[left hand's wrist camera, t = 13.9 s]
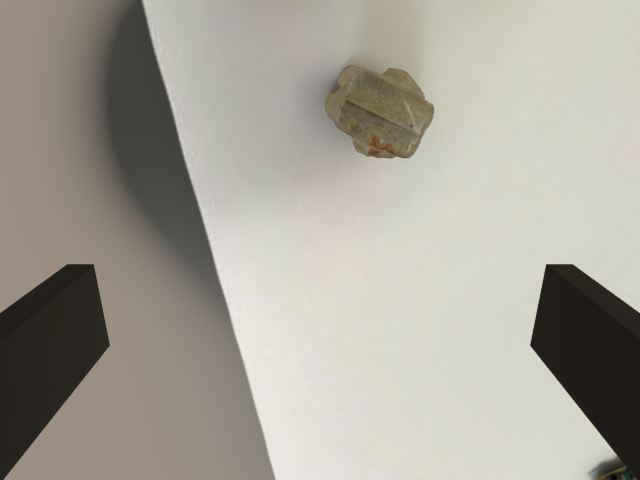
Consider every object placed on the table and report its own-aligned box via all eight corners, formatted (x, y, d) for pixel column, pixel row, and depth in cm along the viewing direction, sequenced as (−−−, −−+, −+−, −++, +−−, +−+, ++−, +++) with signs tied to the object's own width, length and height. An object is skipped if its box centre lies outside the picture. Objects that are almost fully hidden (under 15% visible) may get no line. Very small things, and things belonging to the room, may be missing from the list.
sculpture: (351, 52, 35) (371, 33, 21) (423, 97, 37) (488, 108, 23) (316, 116, 37) (314, 137, 23) (386, 157, 38) (425, 201, 24)
